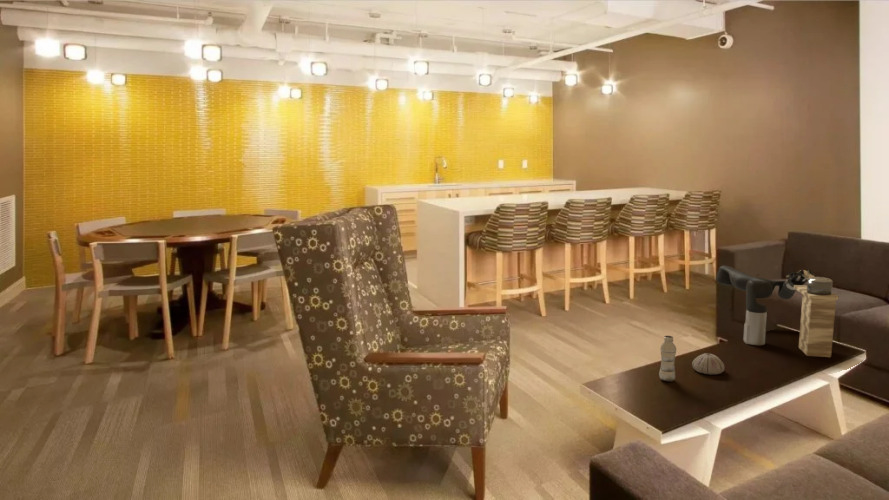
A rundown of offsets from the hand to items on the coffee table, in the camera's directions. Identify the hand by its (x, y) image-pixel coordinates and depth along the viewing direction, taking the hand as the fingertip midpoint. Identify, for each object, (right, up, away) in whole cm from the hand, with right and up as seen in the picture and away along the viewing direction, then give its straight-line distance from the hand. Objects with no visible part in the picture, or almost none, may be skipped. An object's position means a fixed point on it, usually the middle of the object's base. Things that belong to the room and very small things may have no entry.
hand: (806, 271), depth 279 cm
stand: (-3, -38, -7) cm, 39 cm away
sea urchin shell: (-65, -45, -30) cm, 85 cm away
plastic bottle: (-88, -47, -39) cm, 107 cm away
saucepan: (-2, -7, -7) cm, 11 cm away
